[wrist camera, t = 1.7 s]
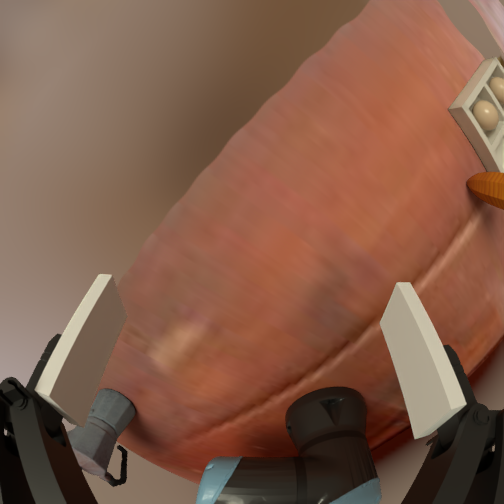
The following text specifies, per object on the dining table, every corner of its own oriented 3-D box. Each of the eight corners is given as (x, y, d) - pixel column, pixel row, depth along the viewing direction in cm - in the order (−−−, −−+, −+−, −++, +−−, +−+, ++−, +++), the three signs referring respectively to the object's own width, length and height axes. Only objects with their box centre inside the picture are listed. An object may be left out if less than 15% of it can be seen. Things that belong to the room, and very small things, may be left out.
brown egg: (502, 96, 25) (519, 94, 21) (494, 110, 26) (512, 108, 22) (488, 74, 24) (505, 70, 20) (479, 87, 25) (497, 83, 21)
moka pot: (97, 371, 43) (49, 446, 24) (159, 417, 46) (132, 497, 27) (81, 388, 46) (40, 454, 27) (138, 429, 49) (111, 499, 30)
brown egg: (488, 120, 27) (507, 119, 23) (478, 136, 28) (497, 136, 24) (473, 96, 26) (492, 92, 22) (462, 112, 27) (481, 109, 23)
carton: (526, 134, 27) (538, 135, 23) (496, 190, 31) (510, 193, 27) (483, 60, 24) (495, 56, 21) (447, 109, 28) (461, 106, 25)
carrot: (480, 175, 30) (551, 190, 16) (472, 204, 32) (542, 229, 18) (461, 160, 30) (536, 170, 16) (452, 190, 32) (526, 211, 17)
